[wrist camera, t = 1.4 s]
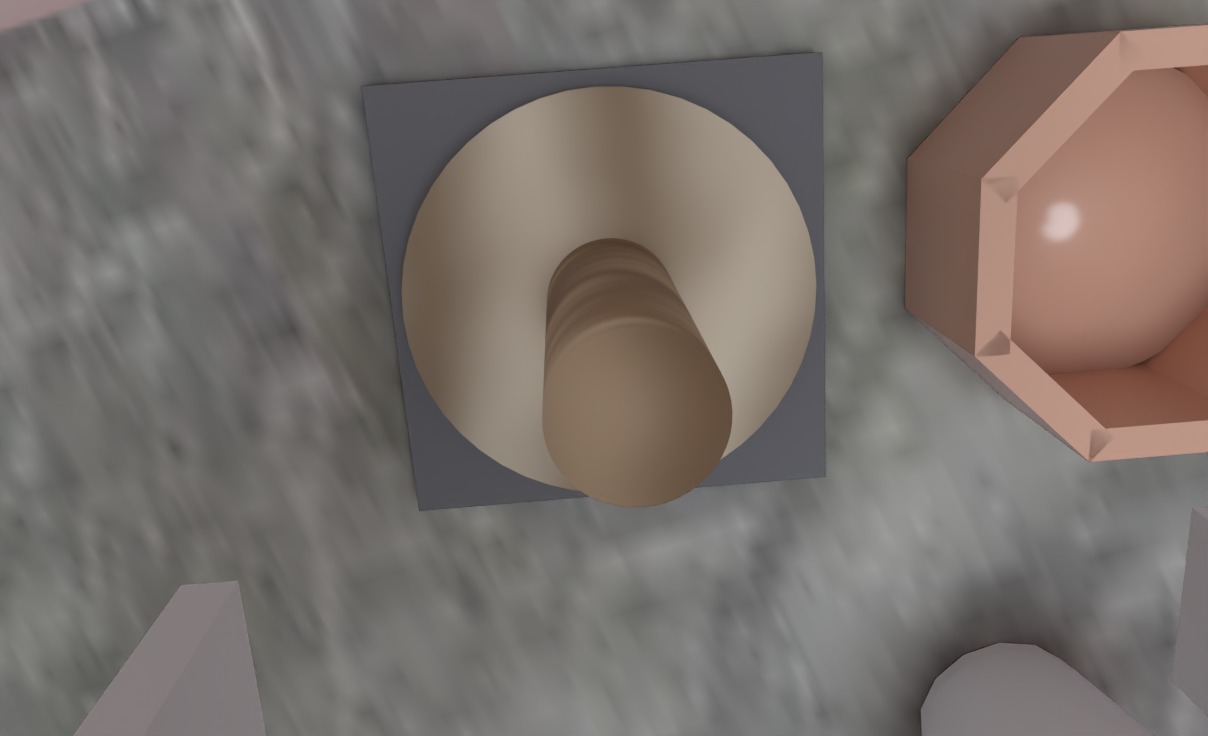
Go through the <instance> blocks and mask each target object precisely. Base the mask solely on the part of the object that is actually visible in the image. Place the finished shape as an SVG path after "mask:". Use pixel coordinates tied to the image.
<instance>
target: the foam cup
mask: <svg viewBox="0 0 1208 736" xmlns="http://www.w3.org/2000/svg"><path fill="white" fill-rule="evenodd" d="M921 730H922V736H1154V735H1153V734H1152V733H1151V732H1150V731H1148V730H1147V729H1146V728H1145V727H1143V726H1142V725H1141V724H1140V723H1139V722H1137V721H1136V720H1135V719H1134V718H1133V717H1131V716H1130V715H1129V714H1128V713H1127V712H1125V711H1124V710H1123V709H1122V708H1121V707H1119V706H1118V705H1117V704H1116V703H1115V702H1113V701H1112V700H1111V699H1110V698H1109V697H1107V696H1106V695H1105V694H1104V693H1102V692H1101V691H1100V690H1099V689H1098V688H1096V687H1095V686H1094V685H1093V684H1092V683H1090V682H1089V681H1088V680H1087V679H1086V678H1084V677H1083V676H1082V675H1081V674H1080V673H1078V672H1077V671H1076V670H1075V669H1073V668H1072V667H1070V666H1068V665H1067V664H1066V663H1065V662H1064V661H1063V660H1061V659H1060V658H1058V657H1056V656H1054V655H1052V654H1051V653H1049V652H1047V651H1045V650H1043V649H1042V648H1040V647H1038V646H1036V645H1030V644H1013V643H997V644H994V645H991V646H988V647H985V648H982V649H979V650H976V651H973V652H970V653H967V654H965V655H963V656H961V657H960V658H959V659H958V660H957V661H956V662H954V663H953V664H952V665H951V666H950V667H949V668H947V669H946V670H945V671H944V672H943V673H942V674H940V675H939V676H938V677H937V678H936V679H935V680H934V683H933V685H932V687H931V689H930V691H929V693H928V695H927V697H926V699H925V701H924V703H923V706H922V708H921Z"/></svg>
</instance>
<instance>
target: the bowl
mask: <svg viewBox="0 0 1208 736" xmlns="http://www.w3.org/2000/svg"><path fill="white" fill-rule="evenodd" d="M905 309H907V310H908V311H909V312H910V313H911V314H912V315H913V316H914V317H916V318H917V319H918V320H919V321H920V322H921V323H922V324H923V325H924V326H925V327H926V328H928V329H929V330H930V331H931V332H932V333H933V334H934V335H935V336H936V337H937V338H938V339H940V340H941V341H942V342H943V343H944V344H945V345H946V346H947V347H948V348H949V349H950V350H952V351H953V352H954V353H955V354H956V355H957V356H958V357H959V358H960V359H961V360H962V361H964V362H965V363H966V364H967V365H968V366H969V367H970V368H971V369H972V370H973V371H974V372H976V373H977V374H978V375H979V376H980V377H981V378H982V379H983V380H984V381H985V382H986V383H988V384H989V385H990V386H991V387H992V388H993V389H994V390H995V391H996V392H997V393H998V394H1000V395H1001V396H1002V398H1004V399H1005V400H1006V401H1008V402H1009V403H1010V404H1012V405H1013V406H1014V407H1016V408H1017V409H1018V410H1020V411H1021V412H1022V413H1024V414H1025V415H1026V416H1028V417H1029V418H1030V419H1032V420H1033V421H1035V422H1036V423H1037V424H1039V425H1040V426H1041V427H1043V428H1044V429H1045V430H1047V431H1048V432H1049V433H1051V434H1052V435H1053V436H1055V437H1056V438H1057V439H1059V440H1060V441H1061V442H1063V443H1064V444H1065V445H1067V446H1068V447H1069V448H1071V449H1072V450H1073V451H1075V452H1076V453H1077V454H1079V455H1080V456H1081V457H1083V458H1084V459H1085V460H1087V461H1088V462H1094V461H1106V460H1118V459H1130V458H1141V457H1153V456H1165V455H1177V454H1189V453H1201V452H1208V23H1207V24H1191V25H1175V26H1166V27H1153V28H1139V29H1126V30H1112V31H1099V32H1085V33H1072V34H1058V35H1045V36H1029V37H1019V38H1018V39H1017V40H1016V41H1015V43H1014V44H1013V45H1012V46H1011V47H1010V48H1009V49H1008V50H1007V51H1006V52H1005V53H1004V55H1003V56H1002V57H1001V58H1000V59H999V60H998V61H997V62H996V63H995V64H994V65H993V66H992V68H991V69H990V70H989V71H988V72H987V73H986V74H985V75H984V76H983V77H982V78H981V79H980V81H979V82H978V83H977V84H976V85H975V86H974V87H973V88H972V89H971V90H970V91H969V92H968V94H967V95H966V96H965V97H964V98H963V99H962V100H961V101H960V102H959V103H958V104H957V105H956V107H955V108H954V109H953V110H952V111H951V112H950V113H949V114H948V115H947V116H946V117H945V118H944V120H943V121H942V122H941V123H940V124H939V125H938V126H937V127H936V128H935V129H934V130H933V131H932V133H931V134H930V135H929V136H928V137H927V138H926V139H925V140H924V141H923V142H922V143H921V144H920V146H919V147H918V148H917V149H916V150H915V151H914V152H913V153H912V154H911V155H910V156H909V157H908V158H907V201H906V264H905Z"/></svg>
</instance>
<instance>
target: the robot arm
mask: <svg viewBox="0 0 1208 736" xmlns="http://www.w3.org/2000/svg"><path fill="white" fill-rule="evenodd" d="M1172 681H1173V682H1174V683H1175V684H1176V685H1177V686H1178V687H1179V688H1180V689H1181V690H1182V691H1183V692H1184V693H1185V694H1186V695H1187V696H1188V697H1189V698H1190V699H1191V700H1192V701H1193V702H1194V703H1195V704H1196V705H1197V706H1198V707H1199V708H1200V709H1201V710H1202V711H1203V712H1204V713H1205V714H1206V715H1207V716H1208V507H1202V508H1192V515H1191V523H1190V532H1189V540H1188V549H1187V557H1186V566H1185V574H1184V582H1183V591H1182V599H1181V608H1180V616H1179V625H1178V633H1177V642H1176V650H1175V659H1174V667H1173V676H1172ZM73 736H266V730H265V725H264V719H263V714H262V708H261V703H260V697H259V692H258V687H257V681H256V676H255V670H254V665H253V659H252V654H251V648H250V643H249V637H248V632H247V626H246V621H245V615H244V610H243V605H242V599H241V594H240V588H239V583H238V581H229V582H216V583H203V584H190V585H181V586H180V587H179V588H178V590H177V591H176V593H175V594H174V595H173V597H172V598H171V600H170V601H169V602H168V604H167V605H166V607H165V608H164V609H163V611H162V612H161V614H160V615H159V616H158V618H157V619H156V621H155V622H154V623H153V625H152V626H151V628H150V629H149V630H148V632H147V633H146V634H145V636H144V637H143V639H142V640H141V641H140V643H139V644H138V646H137V647H136V648H135V650H134V651H133V653H132V654H131V655H130V657H129V658H128V660H127V661H126V662H125V664H124V665H123V667H122V668H121V669H120V671H119V672H118V674H117V675H116V676H115V678H114V679H113V681H112V682H111V683H110V685H109V686H108V687H107V689H106V690H105V692H104V693H103V694H102V696H101V697H100V699H99V700H98V701H97V703H96V704H95V706H94V707H93V708H92V710H91V711H90V713H89V714H88V715H87V717H86V718H85V720H84V721H83V722H82V724H81V725H80V727H79V728H78V729H77V731H76V732H75V734H74V735H73Z"/></svg>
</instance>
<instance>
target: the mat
mask: <svg viewBox="0 0 1208 736" xmlns="http://www.w3.org/2000/svg"><path fill="white" fill-rule="evenodd" d="M593 86H625V87H633V88H641V89H648V90H653V91H656V92H660V93H664V94H667V95H671V96H675V97H678V98H681V99H684V100H686V101H688V102H691V103H693V104H696V105H698V106H700V107H703V108H705V109H707V110H709V111H710V112H712V113H714V114H715V115H717V116H719V117H720V118H722V119H724V120H725V121H727V122H729V123H730V124H732V125H733V126H734V127H735V128H737V129H738V130H739V131H740V132H742V133H743V134H744V135H745V136H747V137H748V138H749V139H750V140H752V141H753V142H754V143H755V144H756V146H757V147H758V148H759V149H760V150H761V151H762V152H763V153H764V154H765V155H766V156H767V157H768V158H769V159H770V160H771V162H772V163H773V164H774V166H775V167H776V169H777V170H778V171H779V173H780V174H781V176H782V177H783V178H784V180H785V181H786V183H787V184H788V186H789V188H790V190H791V192H792V194H793V196H794V198H795V199H796V201H797V203H798V205H799V207H800V210H801V212H802V215H803V218H804V221H805V224H806V226H807V229H808V232H809V236H810V241H811V245H812V250H813V255H814V260H815V273H816V302H815V314H814V319H813V325H812V330H811V335H810V339H809V342H808V345H807V348H806V351H805V354H804V357H803V360H802V363H801V365H800V367H799V369H798V371H797V373H796V376H795V378H794V380H793V382H792V384H791V386H790V387H789V389H788V391H787V392H786V394H785V395H784V397H783V398H782V400H781V401H780V403H779V405H778V406H777V408H776V409H775V410H774V411H773V412H772V414H771V415H770V416H769V417H768V418H767V419H766V421H765V422H764V423H763V424H762V425H761V427H760V428H759V429H758V430H756V431H755V432H754V433H753V434H752V435H751V436H750V437H749V438H748V439H747V440H746V441H745V442H744V443H742V444H741V445H740V446H739V447H737V448H736V449H735V450H733V451H732V452H730V453H729V454H728V455H726V456H725V457H724V458H722V459H721V460H720V461H719V462H718V464H717V465H716V467H715V468H714V470H713V471H712V472H711V473H710V474H709V476H708V477H707V478H706V479H705V480H703V481H702V482H701V483H700V484H699V485H698V486H696V487H695V488H699V487H710V486H722V485H734V484H746V483H758V482H770V481H782V480H794V479H806V478H818V477H826V452H825V322H824V192H823V62H822V52H816V53H802V54H788V55H775V56H761V57H748V58H734V59H721V60H707V61H694V62H680V63H667V64H653V65H640V66H626V67H613V68H599V69H586V70H572V71H559V72H545V73H532V74H518V75H505V76H491V77H478V78H464V79H451V80H437V81H424V82H410V83H397V84H383V85H370V86H362V93H363V100H364V108H365V115H366V122H367V130H368V137H369V145H370V152H371V159H372V167H373V174H374V182H375V189H376V196H377V204H378V211H379V219H380V226H381V233H382V241H383V248H384V256H385V263H386V270H387V278H388V285H389V293H390V300H391V307H392V315H393V322H394V329H395V337H396V344H397V352H398V359H399V366H400V374H401V381H402V389H403V396H404V403H405V411H406V418H407V426H408V433H409V440H410V448H411V455H412V463H413V470H414V477H415V485H416V492H417V500H418V507H419V511H424V510H436V509H448V508H460V507H472V506H484V505H496V504H508V503H520V502H531V501H543V500H555V499H567V498H579V497H590V496H588V495H586V494H584V493H583V492H581V491H576V490H570V489H566V488H561V487H557V486H552V485H548V484H545V483H542V482H539V481H537V480H534V479H531V478H528V477H525V476H523V475H521V474H519V473H517V472H515V471H513V470H511V469H509V468H507V467H505V466H503V465H501V464H500V463H498V462H497V461H495V460H494V459H492V458H491V457H489V456H488V455H486V454H485V453H483V452H482V451H480V450H479V449H478V448H477V447H476V446H475V445H473V444H472V443H471V442H470V441H469V440H468V439H467V438H465V437H464V436H463V435H462V434H461V433H460V432H459V431H458V430H457V429H456V428H455V427H454V425H453V424H452V423H451V422H450V421H449V420H448V419H447V417H446V416H445V415H444V414H443V413H442V411H441V410H440V408H439V407H438V405H437V404H436V402H435V401H434V399H433V398H432V396H431V395H430V393H429V392H428V390H427V388H426V386H425V384H424V382H423V380H422V378H421V376H420V374H419V372H418V370H417V367H416V365H415V362H414V359H413V356H412V353H411V350H410V347H409V344H408V339H407V334H406V329H405V324H404V319H403V307H402V277H403V264H404V259H405V255H406V250H407V245H408V240H409V236H410V234H411V231H412V228H413V225H414V222H415V220H416V217H417V214H418V211H419V209H420V208H421V206H422V204H423V202H424V200H425V198H426V196H427V194H428V192H429V190H430V188H431V187H432V185H433V184H434V182H435V181H436V179H437V178H438V177H439V175H440V174H441V172H442V171H443V170H444V168H445V167H446V165H447V164H448V163H449V162H450V161H451V160H452V159H453V158H454V156H455V155H456V154H457V153H458V152H459V151H460V150H461V149H462V148H463V147H464V146H465V145H466V144H467V143H468V142H469V141H470V140H471V139H472V138H474V137H475V136H476V135H477V134H479V133H480V132H481V131H482V130H483V129H485V128H486V127H487V126H488V125H490V124H491V123H493V122H494V121H496V120H497V119H499V118H501V117H502V116H504V115H506V114H507V113H509V112H511V111H512V110H514V109H516V108H518V107H520V106H523V105H525V104H527V103H529V102H532V101H534V100H536V99H539V98H541V97H545V96H548V95H552V94H555V93H559V92H562V91H566V90H572V89H579V88H586V87H593Z"/></svg>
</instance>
